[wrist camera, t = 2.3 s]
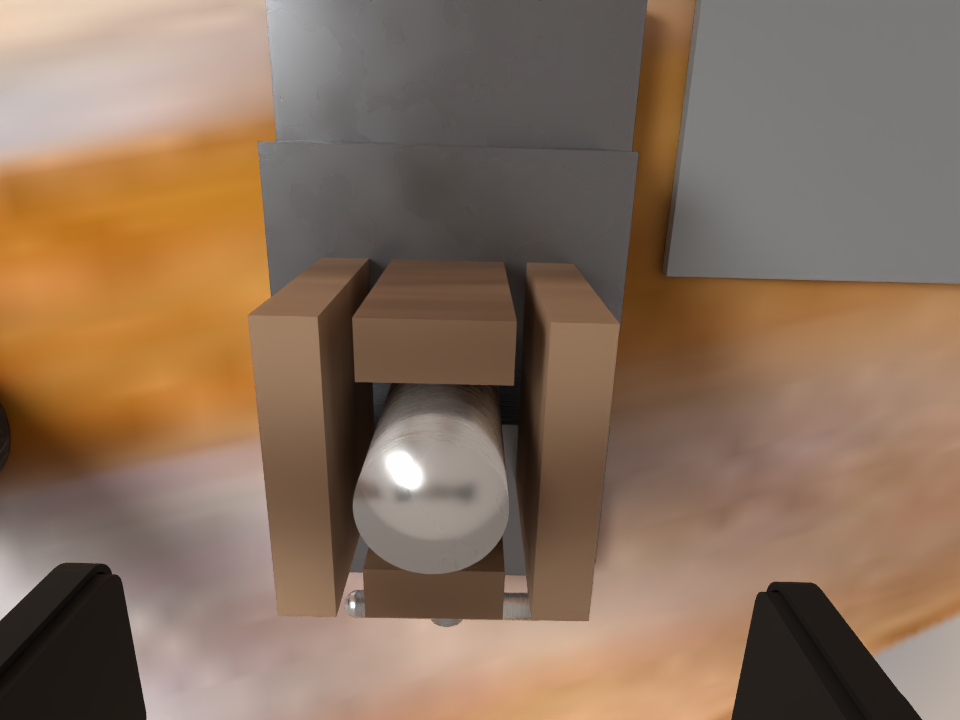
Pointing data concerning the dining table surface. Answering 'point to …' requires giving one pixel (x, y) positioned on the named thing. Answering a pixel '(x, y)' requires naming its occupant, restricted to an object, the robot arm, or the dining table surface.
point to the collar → (431, 360)
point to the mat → (819, 142)
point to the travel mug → (4, 437)
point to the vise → (451, 216)
